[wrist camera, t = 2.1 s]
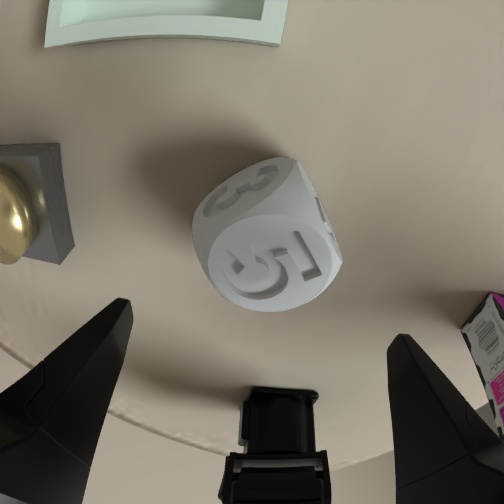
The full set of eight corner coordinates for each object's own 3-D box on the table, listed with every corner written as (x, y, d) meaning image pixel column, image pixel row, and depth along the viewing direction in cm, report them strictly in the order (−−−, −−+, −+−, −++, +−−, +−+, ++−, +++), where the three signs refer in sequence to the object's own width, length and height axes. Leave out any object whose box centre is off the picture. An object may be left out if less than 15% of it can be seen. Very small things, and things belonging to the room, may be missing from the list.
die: (332, 225, 16) (351, 288, 12) (251, 260, 18) (246, 326, 14) (291, 144, 14) (303, 186, 10) (202, 190, 15) (178, 246, 11)
